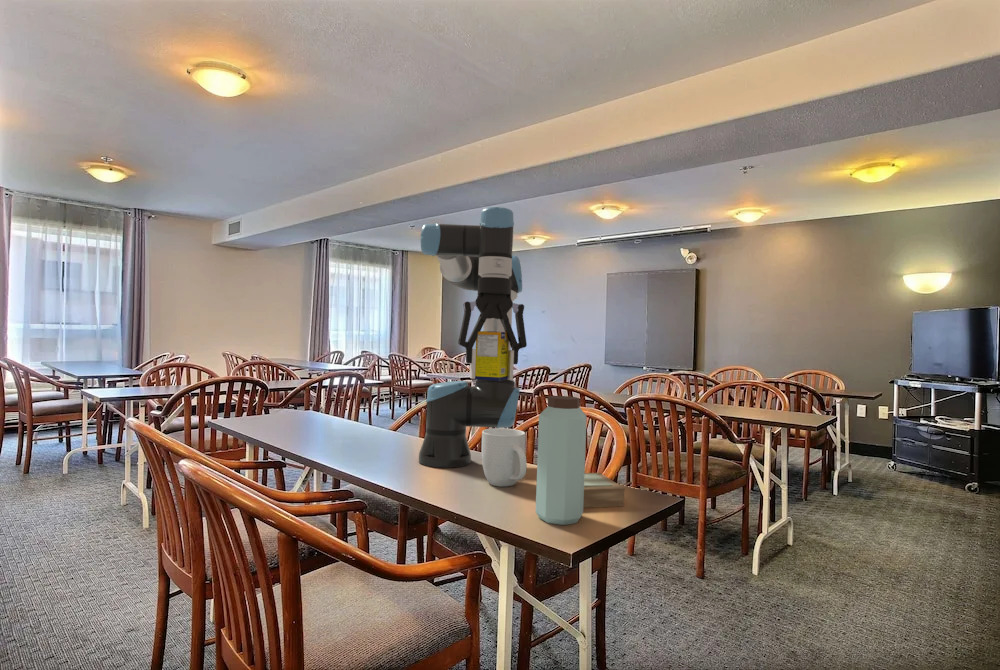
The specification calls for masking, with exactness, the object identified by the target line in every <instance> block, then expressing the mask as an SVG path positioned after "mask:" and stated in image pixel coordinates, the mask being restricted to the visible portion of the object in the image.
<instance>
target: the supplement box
mask: <svg viewBox="0 0 1000 670" xmlns="http://www.w3.org/2000/svg"><path fill="white" fill-rule="evenodd" d="M475 349H476V364H475V379H474V380H475V381H476V380H495V381H502V380H506V379H508V350H509V339H508V335H507V332H498V331H483V330H481V331H479V332H478V337H477V339H476V341H475Z"/></svg>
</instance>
